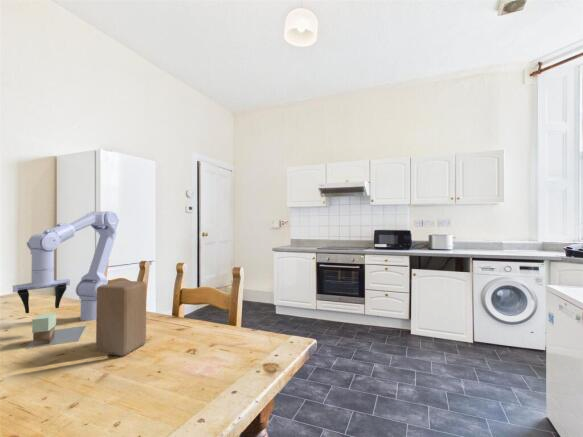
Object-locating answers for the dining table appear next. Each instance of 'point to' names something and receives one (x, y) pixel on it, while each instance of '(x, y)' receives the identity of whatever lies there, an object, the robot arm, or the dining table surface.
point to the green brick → (43, 322)
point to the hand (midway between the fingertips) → (42, 310)
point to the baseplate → (63, 336)
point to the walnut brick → (43, 337)
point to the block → (121, 317)
